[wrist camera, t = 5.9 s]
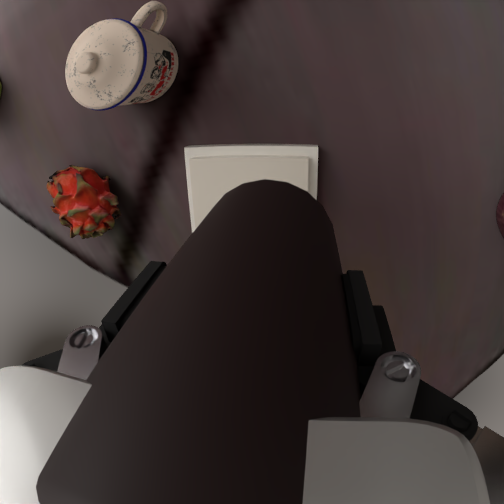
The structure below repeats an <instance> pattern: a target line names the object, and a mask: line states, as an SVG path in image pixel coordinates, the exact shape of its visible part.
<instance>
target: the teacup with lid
mask: <svg viewBox="0 0 504 504" xmlns="http://www.w3.org/2000/svg"><path fill="white" fill-rule="evenodd" d="M155 10H156V18H155V21H154V23H153V25H152V26H151V28H150V30H146V29H143V28H141V26H142V25H143V23H144V21H145V20H146V18H147V17H148V16H149V15H150V14H151V13H152V12H153V11H155ZM166 19H167V9H166V7H165V5H163V4H162V3H160V2H157V1H151V2H148V3H147V4H145V5H144V6H142V7H141V8H140V9H139V10H138V12H137V13H136V14H135V16H134V17H133V19H132V21H131V22H129V21H126V20H123V19H107V20H103V21H100V22H97V23H95V24H93V25H92V26H90V27H89V28H87V29H86V30H85V31H84V32H83V33H82V34H81V35H80V36H79V37H78V38H77V40H76V41H75V42H74V44H73V46H72V48H71V50H70V52H69V55H68V58H67V62H66V70H65V75H66V82H67V86H68V89H69V91H70V93H71V95H72V96H73V98H74V99H75V100H76V101H77V102H78V103H79V104H81V105H82V106H84V107H86V108H89V109H92V110H108V109H111V108H114V107H116V106H120V105H129V104H138V103H147V102H150V101H153V100H155V99H157V98H159V97H160V96H162V95H163V94H164V93H165V92H166V91H167V90H168V89H169V88H170V86H171V85H172V83H173V82H174V79H175V77H176V74H177V71H178V55H177V51H176V49H175V47H174V45H173V44H172V43H171V41H170V40H169V39H167V38H166V37H164V36H163V35H160V34H159V33H160V32H161V30H162V28H163V27H164V25H165V22H166Z"/></svg>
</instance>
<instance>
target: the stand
mask: <svg viewBox="0 0 504 504" xmlns="http://www.w3.org/2000/svg"><path fill="white" fill-rule="evenodd" d="M184 150H185V163H186V175H187V186H188V196H189V206H190V216H191V225H192V233H193V232H194V231H195V229H196V228H197V227H198V226H199V224H200V223H201V222H202V221H203V219H204V218H205V217H206V216H207V214H208V213H209V212H210V211H211V209H212V208H213V207H214V206H215V205H216V203H217V202H218V201H219V200H220V199H221V198H222V197H223V195H224V194H225V193H227V192H229V191H230V190H232V189H234V188H236V187H237V186H239V185H241V184H243V183H247V182H252V181H257V180H263V179H268V180H276V181H283V182H288V183H290V184H292V185H295V186H297V187H299V188H301V189H303V190H305V191H307V192H308V193H309V194H310V195H312V196H313V197H314V198H315V199H316V200H317V177H318V145H305V144H217V145H193V146H187V147H185V148H184Z"/></svg>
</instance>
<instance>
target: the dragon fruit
mask: <svg viewBox="0 0 504 504" xmlns="http://www.w3.org/2000/svg"><path fill="white" fill-rule="evenodd" d="M69 166H70V168H67V169H65V170H59V171H57V172H55V173H54V174H53V175H52V176H50V177H49V179H53V180H54V181H51V182H49V181H48V183H47V189H48V192H49V193H50V194H51V196H52V197H53V198H54V199H53V203H54V205H55V206H54V207H53V206H51V209H52V211H53V212H54V213H56V214H60V217H59V220H60V222H61V224H62V225H64V226H67V227H69V228H71V231H70V238H73V237H75V236H76V235H80V236H81V238H82V239H85V238H90V237H93V238H94V237H95V238H96V237H98V236H102V235H103V233H105V232H106V231H107V230H110V229H111V230H112V229H113V227H114V224H115V221H114V219H117V218H119V217H120V216H121V212H120V210H119V208H118V207H117V206H116V205H118V204H119V202H118V200H117V196H116V195H114V194H112V193H110V189H109V180H110V178H109V177H108V176H106V177H103V180H102V179H101V178H100V177H99V176H98V174H97V173H96V172H95V171H94V170H92V169H90V168H83V167H78V166H77V167H76V166H73V165H69ZM113 213H114V214H116V215H117V216H115V218H113V217H112V214H113Z"/></svg>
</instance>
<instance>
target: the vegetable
mask: <svg viewBox="0 0 504 504" xmlns="http://www.w3.org/2000/svg"><path fill="white" fill-rule="evenodd" d="M496 217H497V224H498V227H499V229H500V232H501V234H502V236H503V238H504V193H503V194H502V196H501V198H500V201H499V203H498V206H497V211H496Z"/></svg>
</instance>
